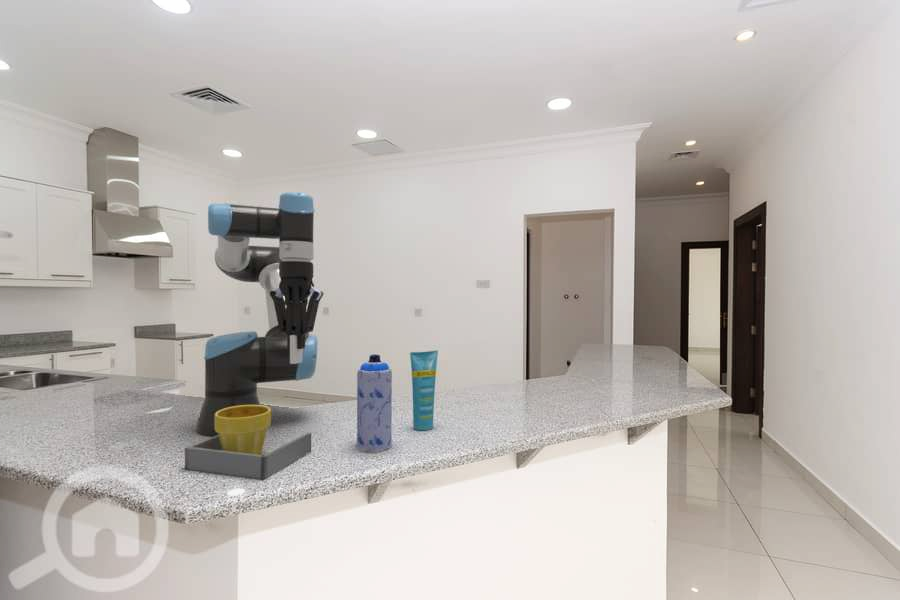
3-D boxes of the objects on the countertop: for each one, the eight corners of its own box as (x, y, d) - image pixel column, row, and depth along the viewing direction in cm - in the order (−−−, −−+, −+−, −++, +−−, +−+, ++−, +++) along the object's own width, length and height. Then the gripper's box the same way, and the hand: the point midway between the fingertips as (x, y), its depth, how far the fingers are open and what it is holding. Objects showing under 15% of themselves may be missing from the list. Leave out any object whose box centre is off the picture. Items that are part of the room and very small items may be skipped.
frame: (184, 468, 86) (184, 447, 86) (240, 443, 101) (241, 425, 101) (264, 479, 81) (264, 457, 81) (311, 451, 96) (311, 432, 96)
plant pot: (270, 464, 89) (270, 414, 88) (211, 471, 85) (211, 419, 85) (271, 447, 98) (271, 402, 98) (217, 453, 95) (217, 406, 94)
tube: (415, 432, 110) (415, 353, 109) (405, 427, 114) (406, 350, 113) (441, 427, 114) (441, 351, 113) (431, 423, 118) (431, 349, 118)
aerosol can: (398, 447, 99) (399, 355, 99) (365, 454, 94) (365, 358, 94) (382, 438, 105) (382, 351, 105) (350, 444, 101) (350, 354, 100)
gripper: (261, 260, 103) (261, 363, 104) (312, 259, 100) (311, 366, 100) (282, 262, 111) (282, 359, 111) (330, 261, 107) (329, 361, 108)
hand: (296, 362), depth 106 cm, fingers closed
